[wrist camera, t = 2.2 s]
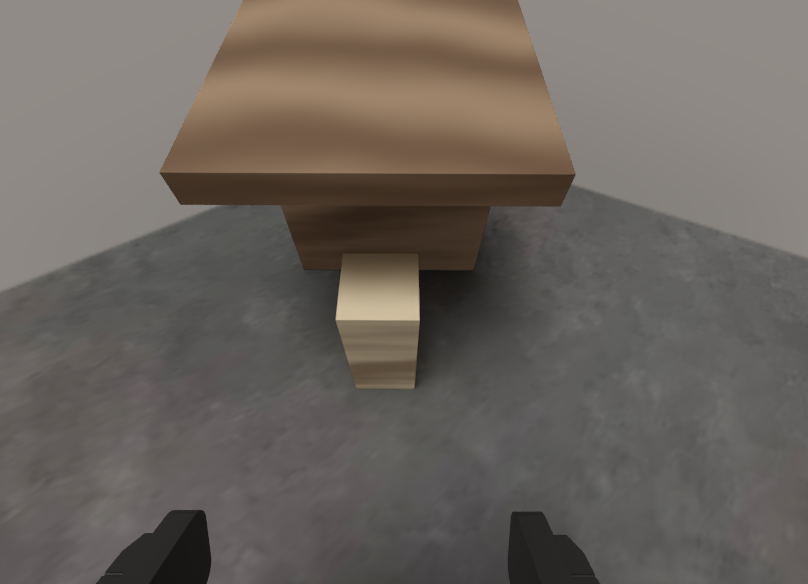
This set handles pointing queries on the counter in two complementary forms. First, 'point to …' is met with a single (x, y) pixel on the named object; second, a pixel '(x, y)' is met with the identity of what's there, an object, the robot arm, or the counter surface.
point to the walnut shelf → (374, 125)
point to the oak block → (380, 318)
